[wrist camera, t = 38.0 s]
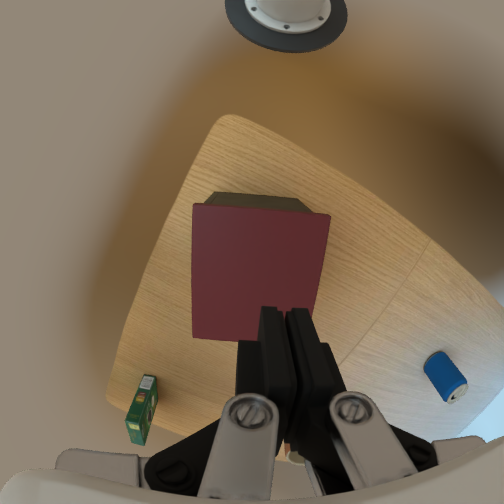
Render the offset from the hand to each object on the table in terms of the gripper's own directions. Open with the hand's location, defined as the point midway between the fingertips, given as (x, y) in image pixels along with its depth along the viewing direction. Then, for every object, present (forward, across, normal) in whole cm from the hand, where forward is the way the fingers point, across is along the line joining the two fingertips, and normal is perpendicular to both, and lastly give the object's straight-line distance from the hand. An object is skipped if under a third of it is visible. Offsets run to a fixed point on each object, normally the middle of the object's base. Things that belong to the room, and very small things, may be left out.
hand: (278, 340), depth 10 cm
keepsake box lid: (+15, 0, +5) cm, 16 cm away
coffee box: (+30, +18, +38) cm, 52 cm away
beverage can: (+30, -44, +30) cm, 61 cm away
